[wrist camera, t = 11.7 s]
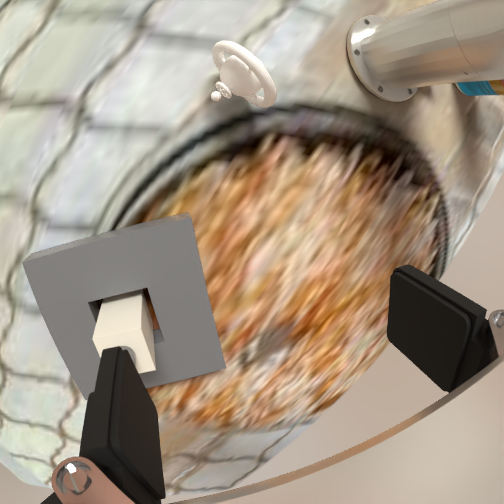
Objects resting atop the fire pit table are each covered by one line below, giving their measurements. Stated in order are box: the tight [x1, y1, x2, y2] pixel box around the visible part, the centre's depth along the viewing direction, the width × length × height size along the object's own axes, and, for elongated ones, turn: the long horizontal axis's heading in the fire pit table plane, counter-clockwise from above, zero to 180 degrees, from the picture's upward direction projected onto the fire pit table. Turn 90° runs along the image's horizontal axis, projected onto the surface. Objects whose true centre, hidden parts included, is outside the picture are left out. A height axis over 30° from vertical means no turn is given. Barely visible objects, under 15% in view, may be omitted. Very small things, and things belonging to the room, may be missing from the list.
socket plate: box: [22, 212, 226, 400], centre depth 32 cm, size 18×18×3 cm
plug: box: [92, 289, 156, 373], centre depth 28 cm, size 4×4×10 cm
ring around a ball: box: [211, 41, 277, 107], centre depth 26 cm, size 8×6×8 cm
